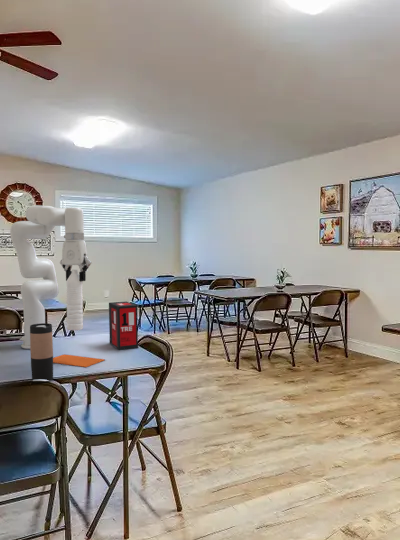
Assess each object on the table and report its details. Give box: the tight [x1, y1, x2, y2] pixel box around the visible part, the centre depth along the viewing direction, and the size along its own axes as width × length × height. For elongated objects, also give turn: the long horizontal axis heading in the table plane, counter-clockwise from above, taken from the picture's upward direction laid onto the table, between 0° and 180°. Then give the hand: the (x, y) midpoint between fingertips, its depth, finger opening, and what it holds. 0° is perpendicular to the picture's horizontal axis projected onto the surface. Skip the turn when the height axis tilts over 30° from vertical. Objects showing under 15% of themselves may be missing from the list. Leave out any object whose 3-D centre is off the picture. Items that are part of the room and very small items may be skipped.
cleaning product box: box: [108, 300, 139, 351], centre depth 222 cm, size 16×9×20 cm, turn 26°
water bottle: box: [66, 268, 89, 331], centre depth 195 cm, size 9×6×25 cm
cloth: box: [53, 354, 106, 368], centre depth 195 cm, size 22×12×1 cm, turn 64°
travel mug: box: [29, 322, 54, 381], centre depth 167 cm, size 8×8×20 cm
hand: (75, 280), depth 194 cm, fingers closed on water bottle, 6 cm apart
